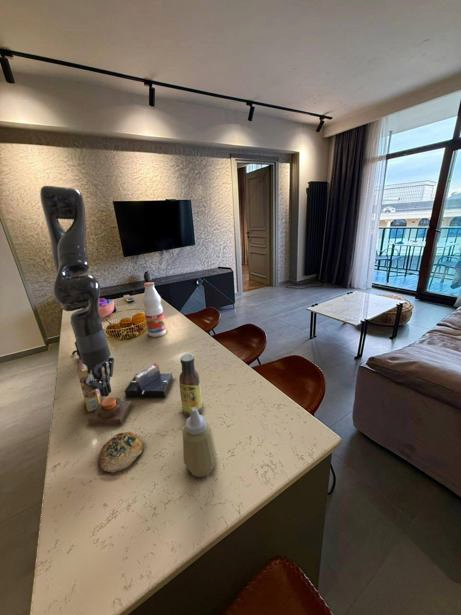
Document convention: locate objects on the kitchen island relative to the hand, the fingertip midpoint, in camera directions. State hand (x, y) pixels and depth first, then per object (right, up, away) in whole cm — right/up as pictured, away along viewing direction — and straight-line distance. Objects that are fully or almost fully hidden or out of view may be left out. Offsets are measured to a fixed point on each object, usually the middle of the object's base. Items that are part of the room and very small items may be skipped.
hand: (106, 394), depth 79 cm
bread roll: (+10, -13, -11) cm, 19 cm away
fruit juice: (-1, +13, +58) cm, 60 cm away
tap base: (+9, -3, +14) cm, 17 cm away
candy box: (-8, -6, +9) cm, 14 cm away
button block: (0, -8, +3) cm, 8 cm away
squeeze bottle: (+31, -13, -15) cm, 37 cm away
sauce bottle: (+26, -6, +3) cm, 27 cm away
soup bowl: (-45, +21, +87) cm, 100 cm away
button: (0, -4, +2) cm, 5 cm away
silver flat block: (+9, 0, +13) cm, 16 cm away
